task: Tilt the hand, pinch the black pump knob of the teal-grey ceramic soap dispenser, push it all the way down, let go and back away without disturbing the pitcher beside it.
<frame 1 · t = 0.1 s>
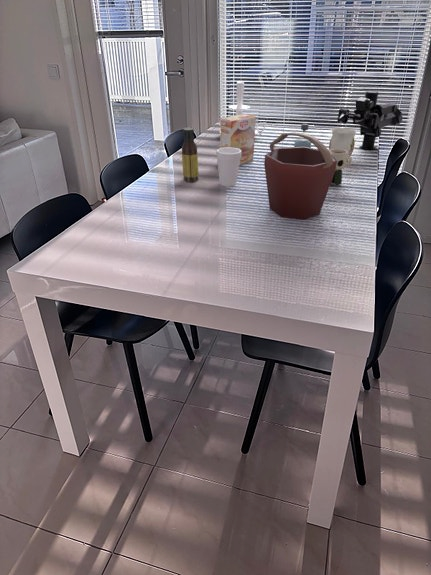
hand: (348, 121, 192), 17 cm above the table, tool horizontal, fingers open, 9 cm apart
dispenser: (301, 151, 210), on the table
sauce bottle: (190, 180, 174), on the table
bucket: (295, 210, 149), on the table
character mug: (332, 184, 171), on the table
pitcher: (339, 160, 200), on the table
coffeecake box: (236, 163, 194), on the table
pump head: (304, 128, 204), point 11 cm above the table, slide at 0.0 cm
foam cup: (228, 184, 170), on the table
candlestick: (242, 138, 232), on the table
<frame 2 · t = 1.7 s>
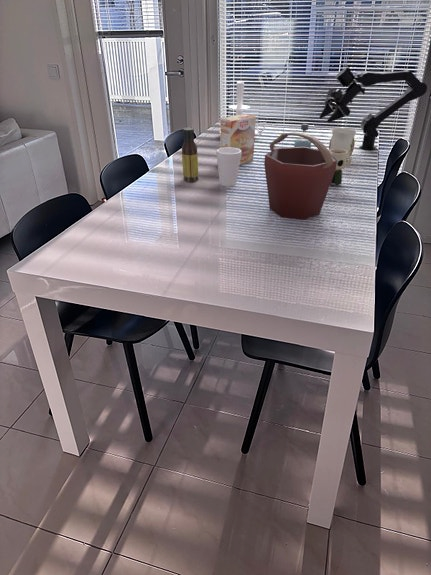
hand: (323, 119, 208), 14 cm above the table, tool tilted 45°, fingers open, 9 cm apart
nothing on the table moved.
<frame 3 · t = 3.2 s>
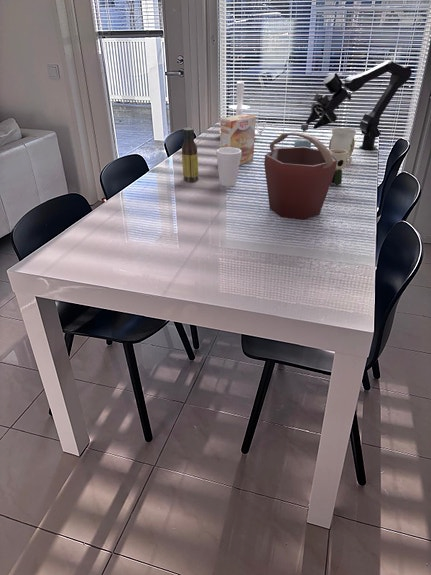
hand: (310, 125, 204), 12 cm above the table, tool tilted 45°, fingers open, 9 cm apart
nothing on the table moved.
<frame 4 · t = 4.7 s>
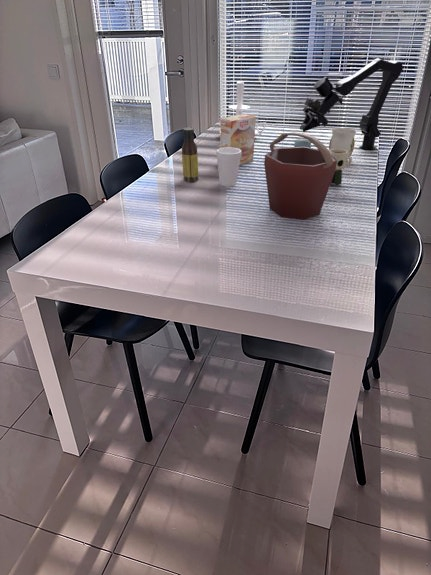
hand: (301, 130, 205), 10 cm above the table, tool tilted 45°, fingers closed on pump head, 3 cm apart
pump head: (304, 128, 204), point 11 cm above the table, slide at 0.0 cm, touching gripper
everything else where it was.
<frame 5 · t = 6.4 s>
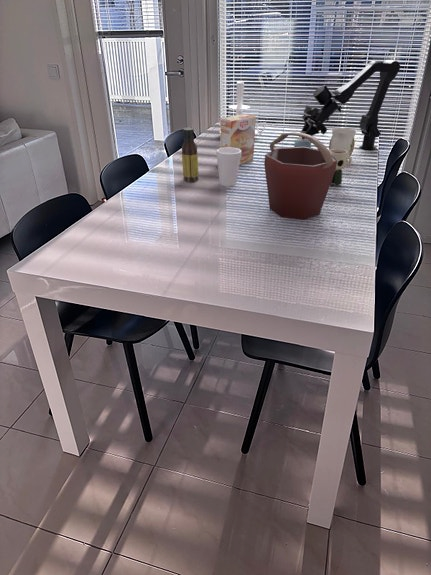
hand: (300, 137, 206), 7 cm above the table, tool tilted 45°, fingers closed on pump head, 3 cm apart
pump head: (303, 135, 206), point 8 cm above the table, slide at 3.4 cm, touching gripper
everything else where it was.
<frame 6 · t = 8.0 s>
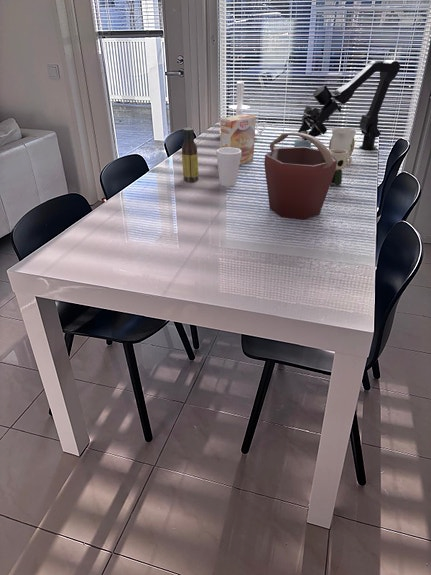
hand: (300, 137, 206), 7 cm above the table, tool tilted 45°, fingers open, 9 cm apart
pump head: (303, 135, 206), point 8 cm above the table, slide at 3.4 cm
everything else where it was.
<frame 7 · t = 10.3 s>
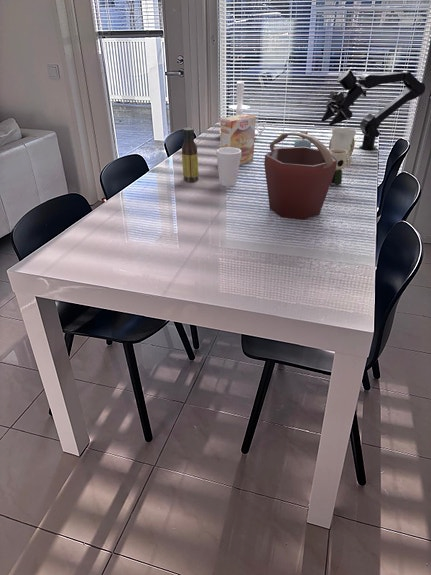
hand: (325, 123, 207), 13 cm above the table, tool tilted 45°, fingers open, 9 cm apart
nothing on the table moved.
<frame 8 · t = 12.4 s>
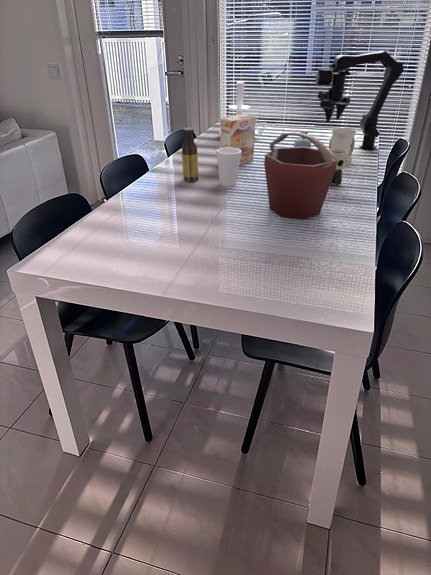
hand: (332, 120, 209), 13 cm above the table, tool pointing down, fingers open, 9 cm apart
nothing on the table moved.
at the end: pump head slide at 3.4 cm; the gripper is holding nothing; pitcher moved 0.2 cm from its start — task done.
